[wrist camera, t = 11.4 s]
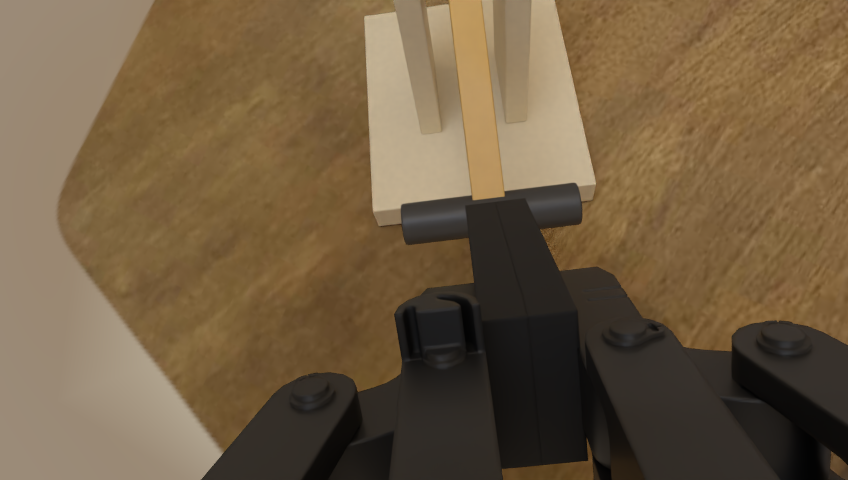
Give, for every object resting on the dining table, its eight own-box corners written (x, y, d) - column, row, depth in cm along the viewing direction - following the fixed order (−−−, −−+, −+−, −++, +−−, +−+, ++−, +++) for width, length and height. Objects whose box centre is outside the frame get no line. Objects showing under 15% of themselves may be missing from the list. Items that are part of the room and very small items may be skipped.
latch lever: (575, 224, 23) (587, 224, 21) (409, 244, 24) (402, 246, 21) (531, -142, 23) (539, -185, 21) (366, -115, 23) (354, -154, 21)
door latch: (592, 200, 30) (652, -52, 17) (378, 227, 30) (289, 2, 18) (550, 9, 35) (572, -287, 23) (369, 36, 36) (295, -238, 23)
